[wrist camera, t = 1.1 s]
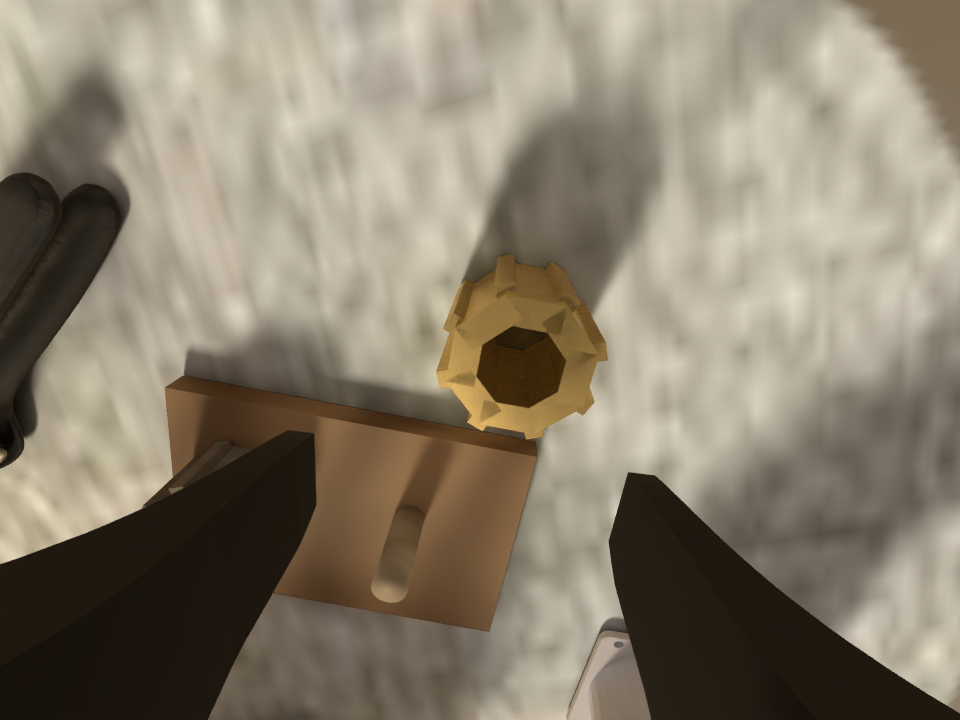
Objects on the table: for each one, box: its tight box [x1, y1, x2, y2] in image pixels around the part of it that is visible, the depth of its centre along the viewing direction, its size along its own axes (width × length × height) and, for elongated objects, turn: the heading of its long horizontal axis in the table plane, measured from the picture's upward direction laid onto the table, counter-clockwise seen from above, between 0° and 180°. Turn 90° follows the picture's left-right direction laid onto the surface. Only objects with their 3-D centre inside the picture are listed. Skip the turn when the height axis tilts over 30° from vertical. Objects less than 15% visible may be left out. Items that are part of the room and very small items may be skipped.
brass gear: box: [436, 254, 608, 439], centre depth 17 cm, size 5×5×5 cm
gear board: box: [142, 376, 537, 632], centre depth 21 cm, size 16×11×5 cm
